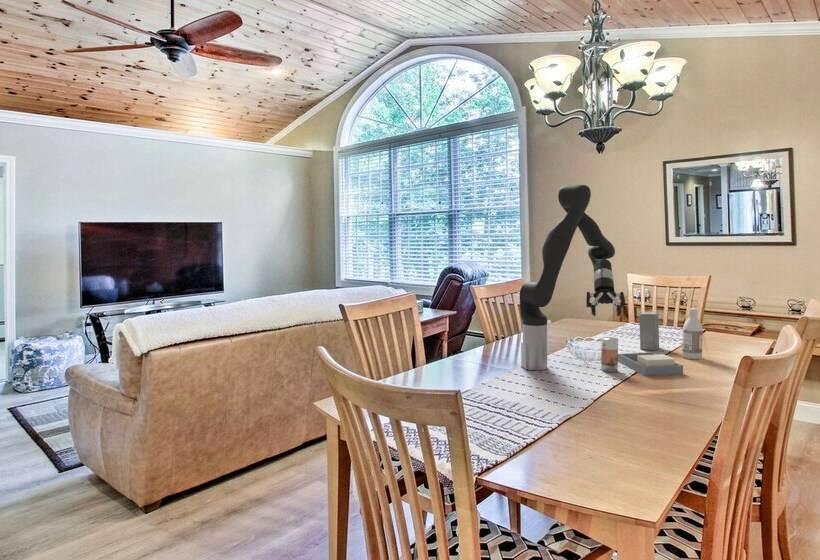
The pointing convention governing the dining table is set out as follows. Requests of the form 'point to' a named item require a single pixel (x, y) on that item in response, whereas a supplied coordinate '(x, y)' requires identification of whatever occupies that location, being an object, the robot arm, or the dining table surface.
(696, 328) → the bath foam
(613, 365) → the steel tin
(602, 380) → the dining table surface
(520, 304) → the robot arm
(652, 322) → the skincare box
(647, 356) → the egg box
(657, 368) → the tray
